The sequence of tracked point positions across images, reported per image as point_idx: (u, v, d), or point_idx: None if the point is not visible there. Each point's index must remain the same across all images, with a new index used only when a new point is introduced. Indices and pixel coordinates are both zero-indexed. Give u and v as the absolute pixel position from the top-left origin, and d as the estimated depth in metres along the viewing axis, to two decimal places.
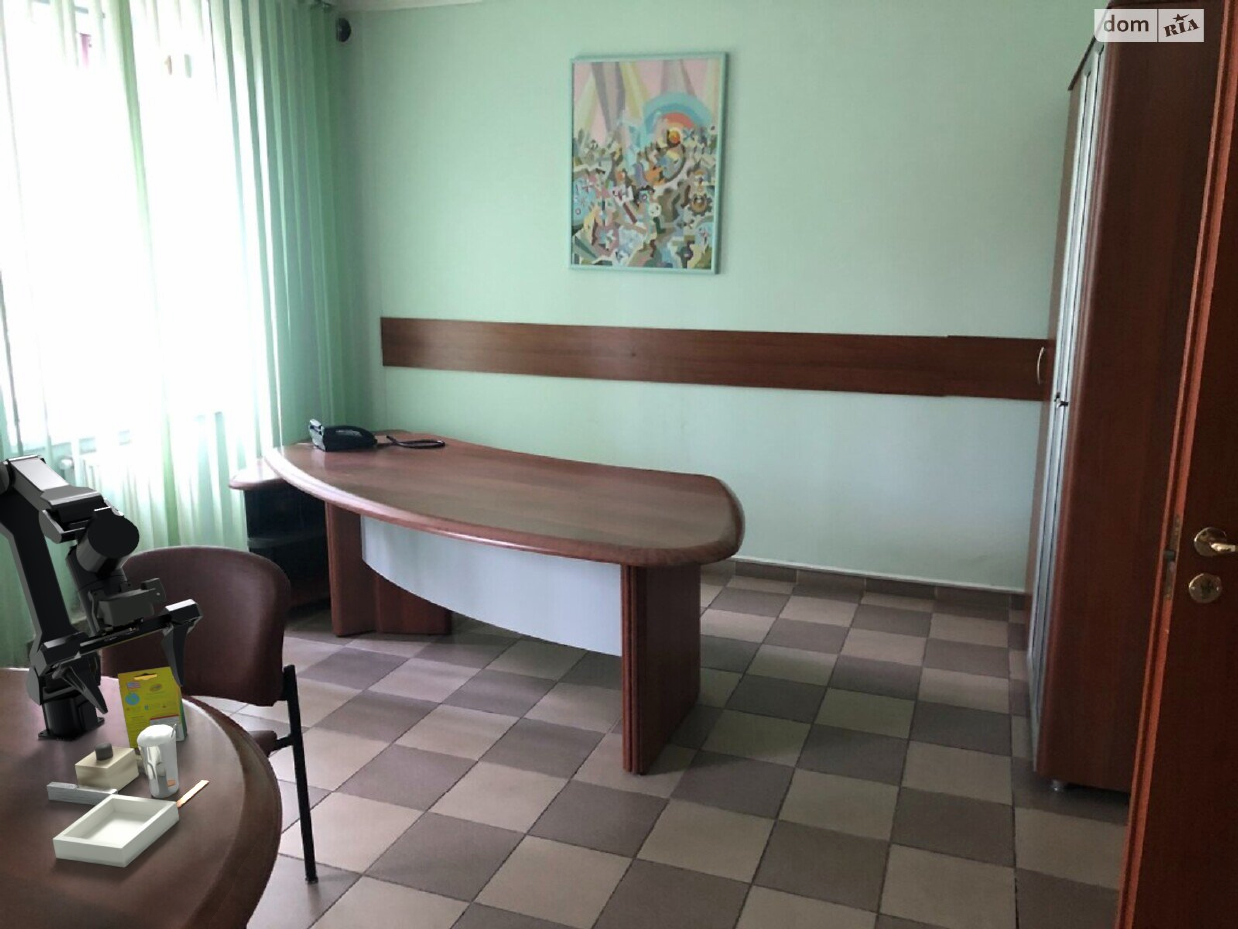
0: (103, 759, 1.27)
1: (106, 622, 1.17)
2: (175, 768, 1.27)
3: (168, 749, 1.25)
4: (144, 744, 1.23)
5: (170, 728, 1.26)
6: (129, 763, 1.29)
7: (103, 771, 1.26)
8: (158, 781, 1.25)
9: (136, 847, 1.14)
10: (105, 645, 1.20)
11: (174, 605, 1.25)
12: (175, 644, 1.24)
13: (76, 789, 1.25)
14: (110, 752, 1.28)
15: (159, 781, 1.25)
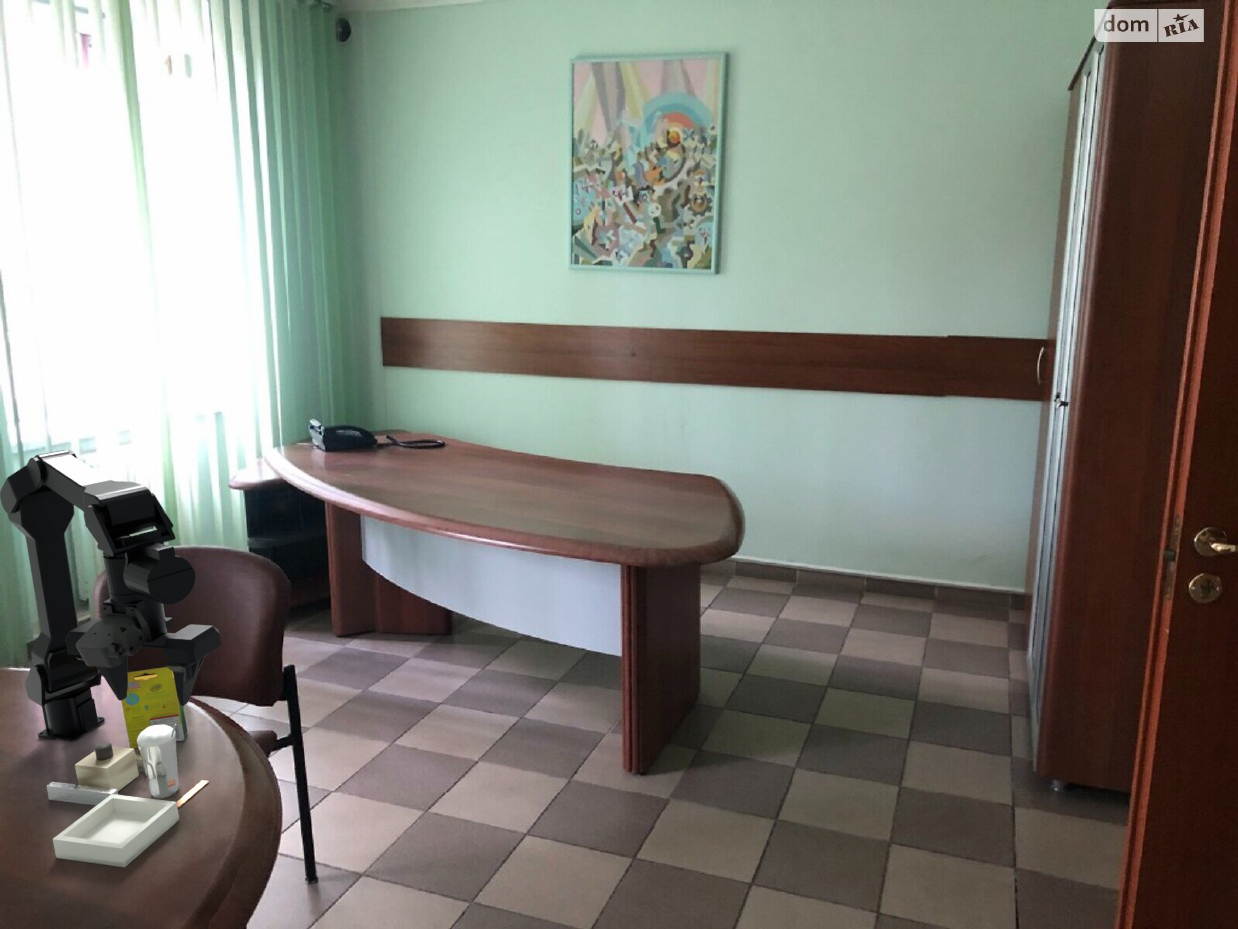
0: (103, 759, 1.27)
1: None
2: (175, 768, 1.27)
3: (168, 749, 1.25)
4: (144, 744, 1.23)
5: (170, 728, 1.26)
6: (129, 763, 1.29)
7: (103, 771, 1.26)
8: (158, 781, 1.25)
9: (136, 847, 1.14)
10: None
11: (172, 641, 1.18)
12: (174, 673, 1.21)
13: (76, 789, 1.25)
14: (110, 752, 1.28)
15: (159, 781, 1.25)
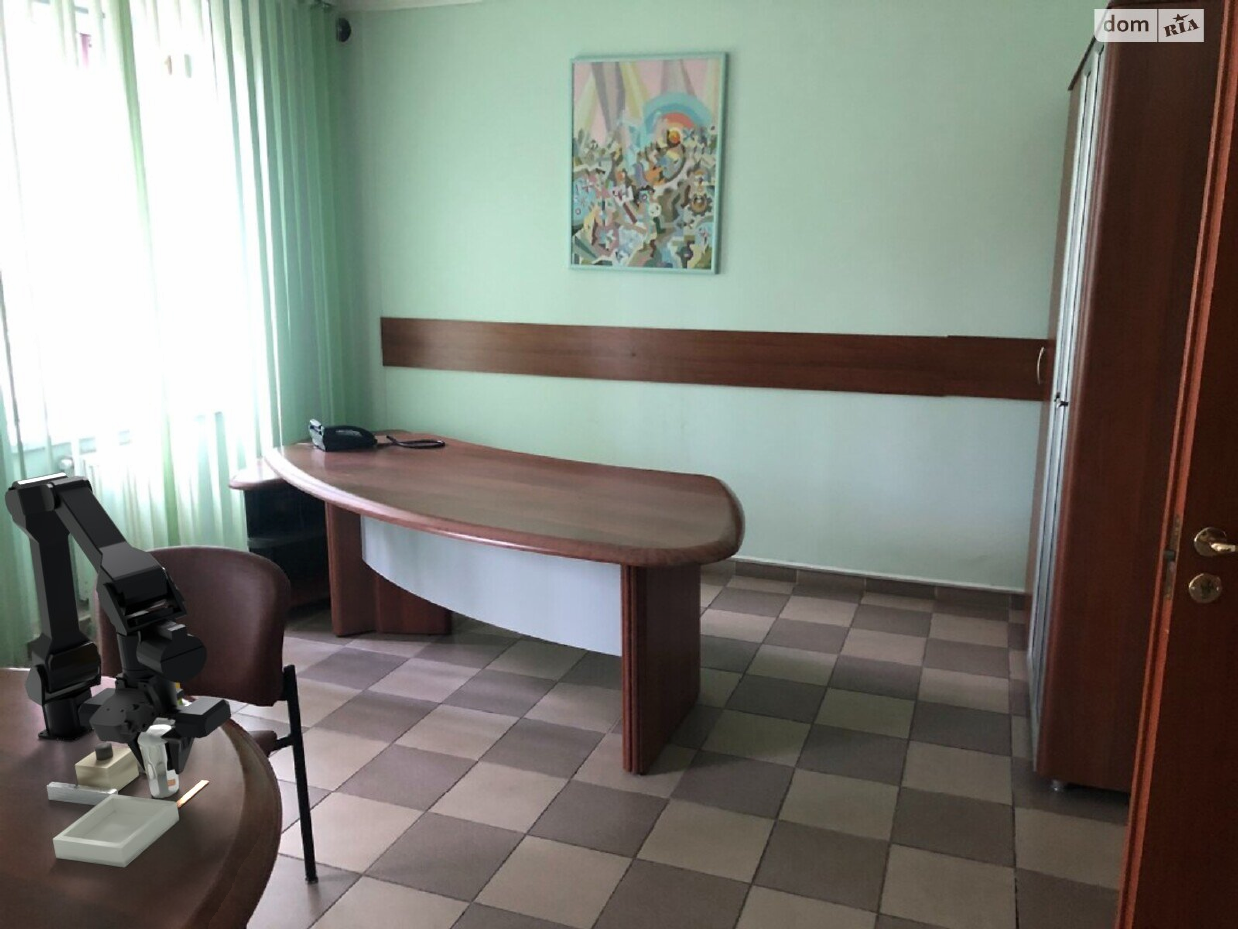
0: (103, 759, 1.27)
1: None
2: None
3: (169, 749, 1.25)
4: (145, 744, 1.23)
5: None
6: (129, 763, 1.29)
7: (103, 771, 1.26)
8: (158, 781, 1.25)
9: (136, 847, 1.14)
10: None
11: (184, 716, 1.21)
12: (170, 744, 1.23)
13: (76, 789, 1.25)
14: (110, 752, 1.28)
15: (160, 781, 1.25)
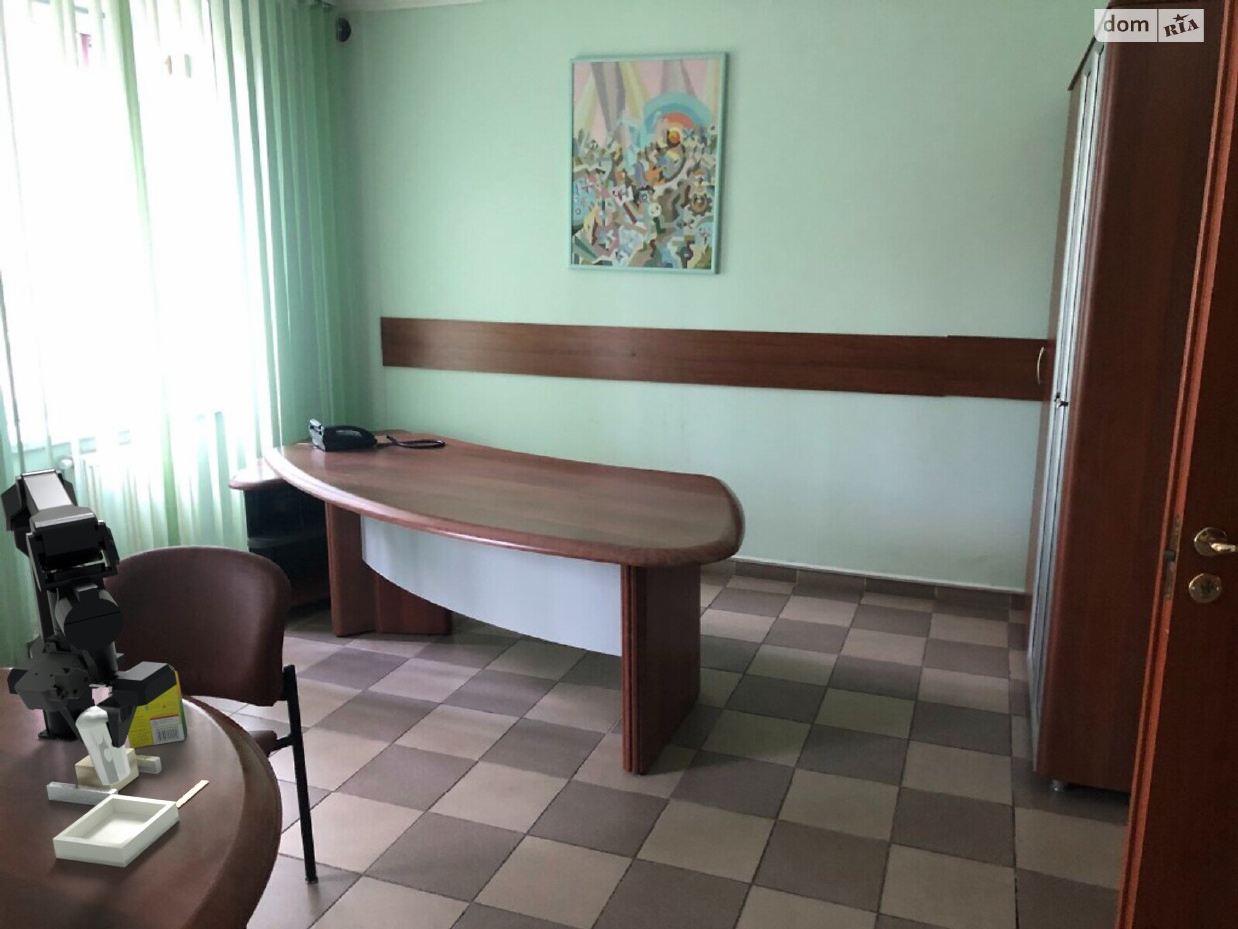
0: None
1: None
2: (123, 750, 1.15)
3: None
4: (83, 726, 1.12)
5: None
6: (129, 763, 1.29)
7: None
8: (104, 766, 1.14)
9: (136, 847, 1.14)
10: None
11: (122, 682, 1.09)
12: (108, 713, 1.12)
13: (76, 789, 1.25)
14: None
15: (106, 765, 1.14)
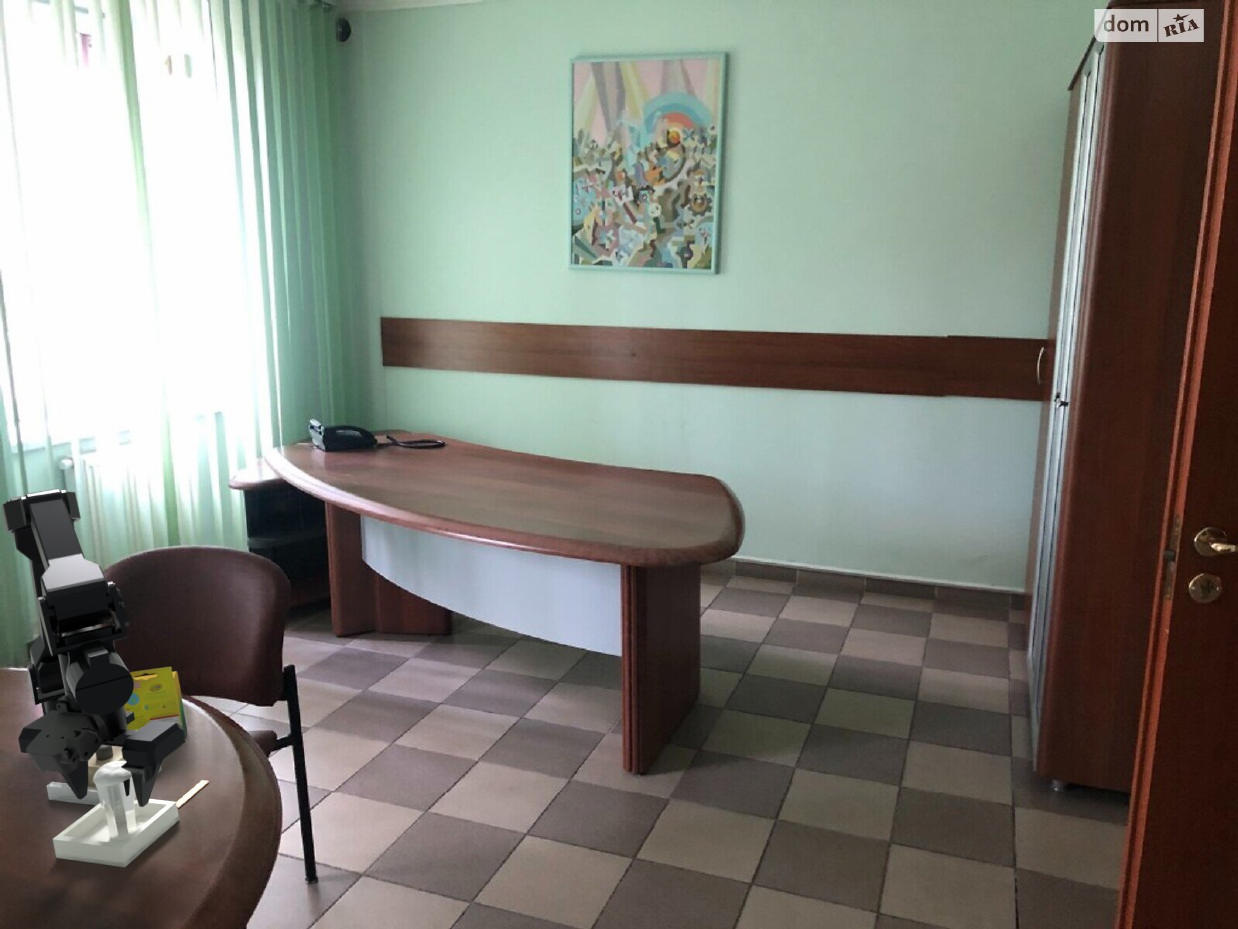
0: (103, 759, 1.27)
1: None
2: (135, 808, 1.17)
3: (127, 788, 1.15)
4: (100, 783, 1.14)
5: None
6: None
7: None
8: (116, 823, 1.15)
9: (136, 847, 1.14)
10: None
11: (131, 742, 1.10)
12: (132, 774, 1.13)
13: None
14: (110, 752, 1.28)
15: (118, 822, 1.15)
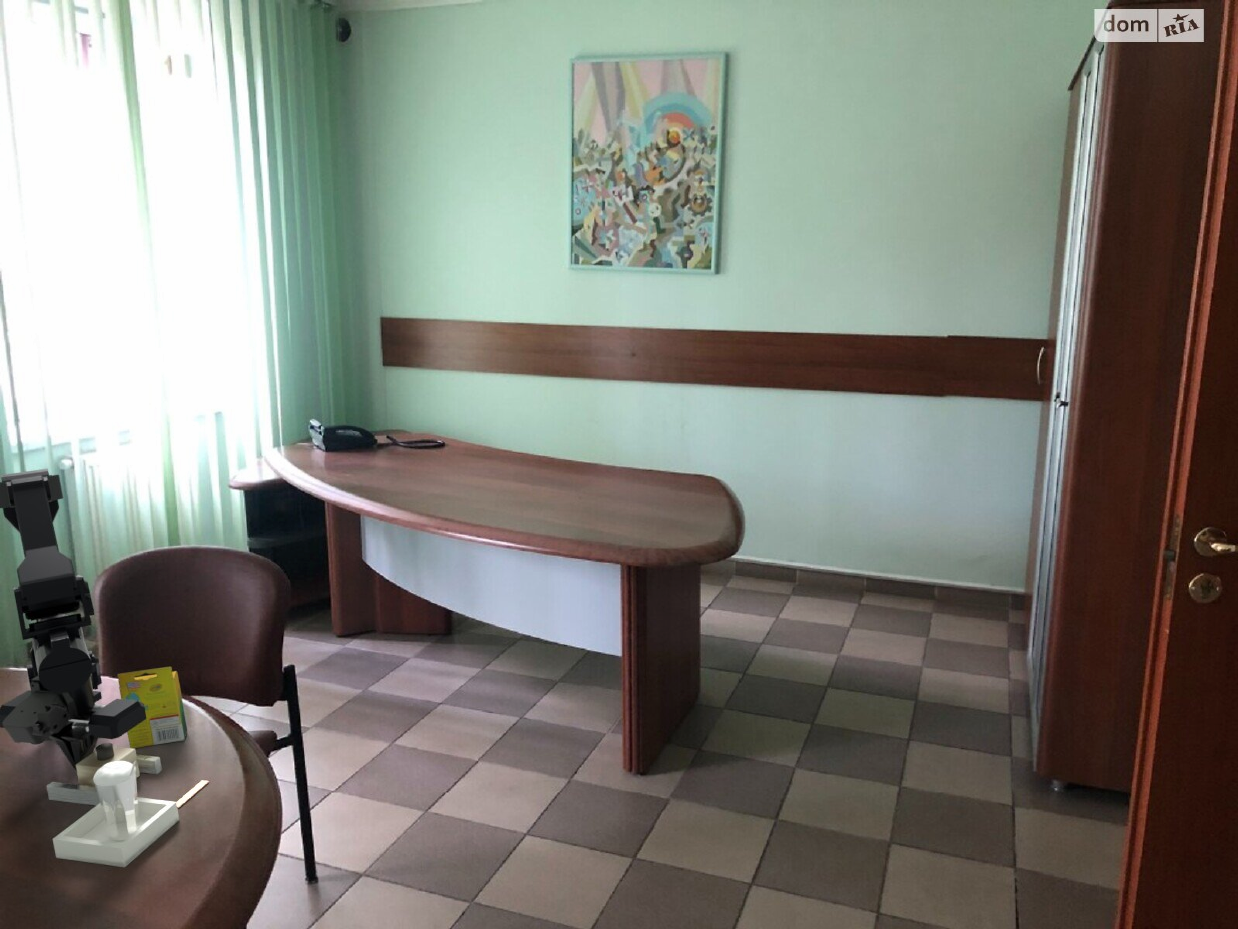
0: (104, 759, 1.27)
1: None
2: (135, 808, 1.17)
3: (127, 788, 1.15)
4: (101, 783, 1.14)
5: (130, 765, 1.16)
6: None
7: None
8: (116, 823, 1.15)
9: (136, 847, 1.14)
10: None
11: (97, 717, 1.24)
12: (72, 743, 1.27)
13: (76, 789, 1.25)
14: (111, 752, 1.28)
15: (118, 822, 1.15)
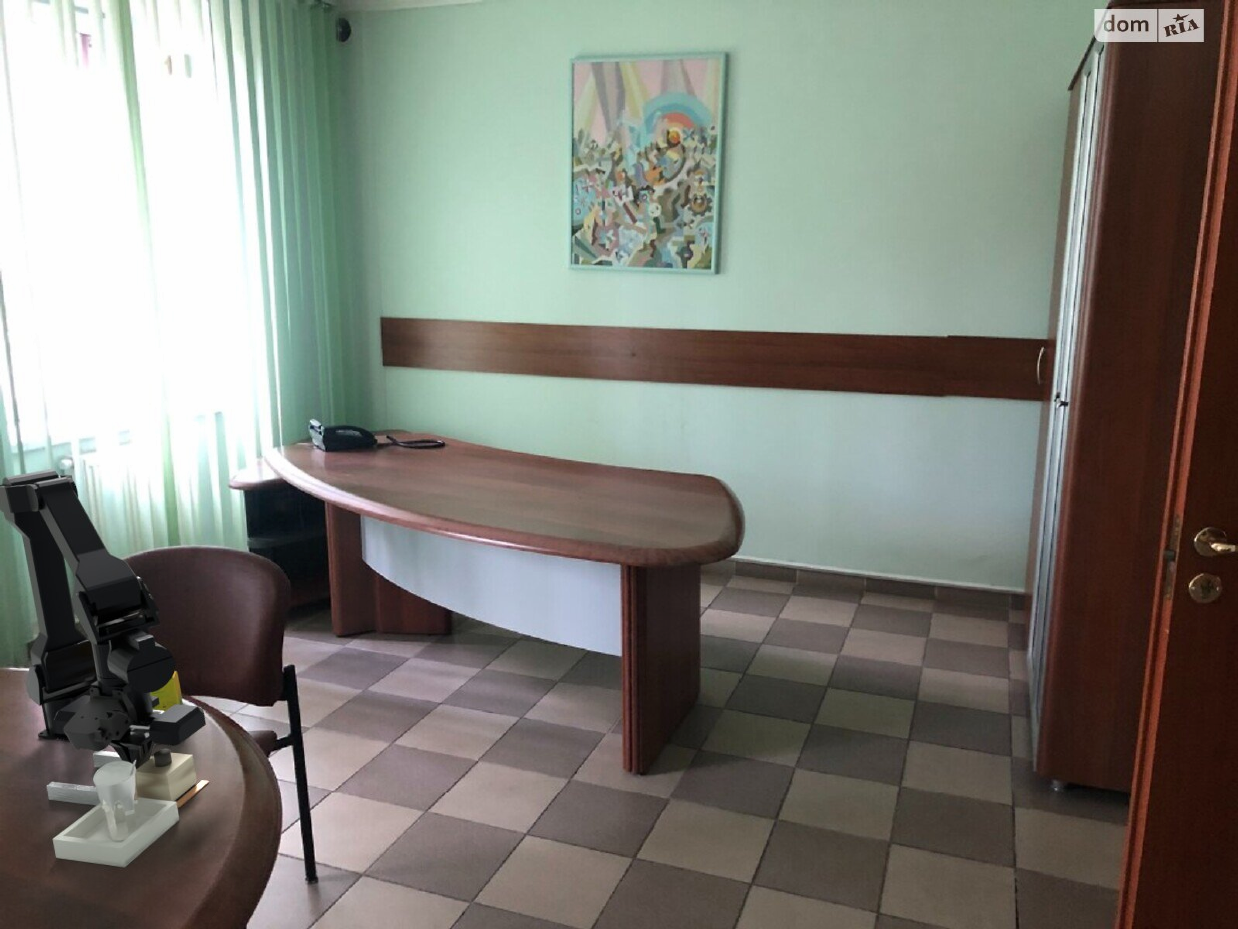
0: (162, 766, 1.25)
1: None
2: (135, 808, 1.17)
3: (127, 788, 1.15)
4: (101, 783, 1.14)
5: (130, 765, 1.16)
6: (188, 770, 1.27)
7: (163, 778, 1.24)
8: (116, 823, 1.15)
9: (136, 847, 1.14)
10: None
11: (158, 723, 1.22)
12: (130, 749, 1.25)
13: (76, 789, 1.25)
14: (169, 758, 1.26)
15: (118, 822, 1.15)
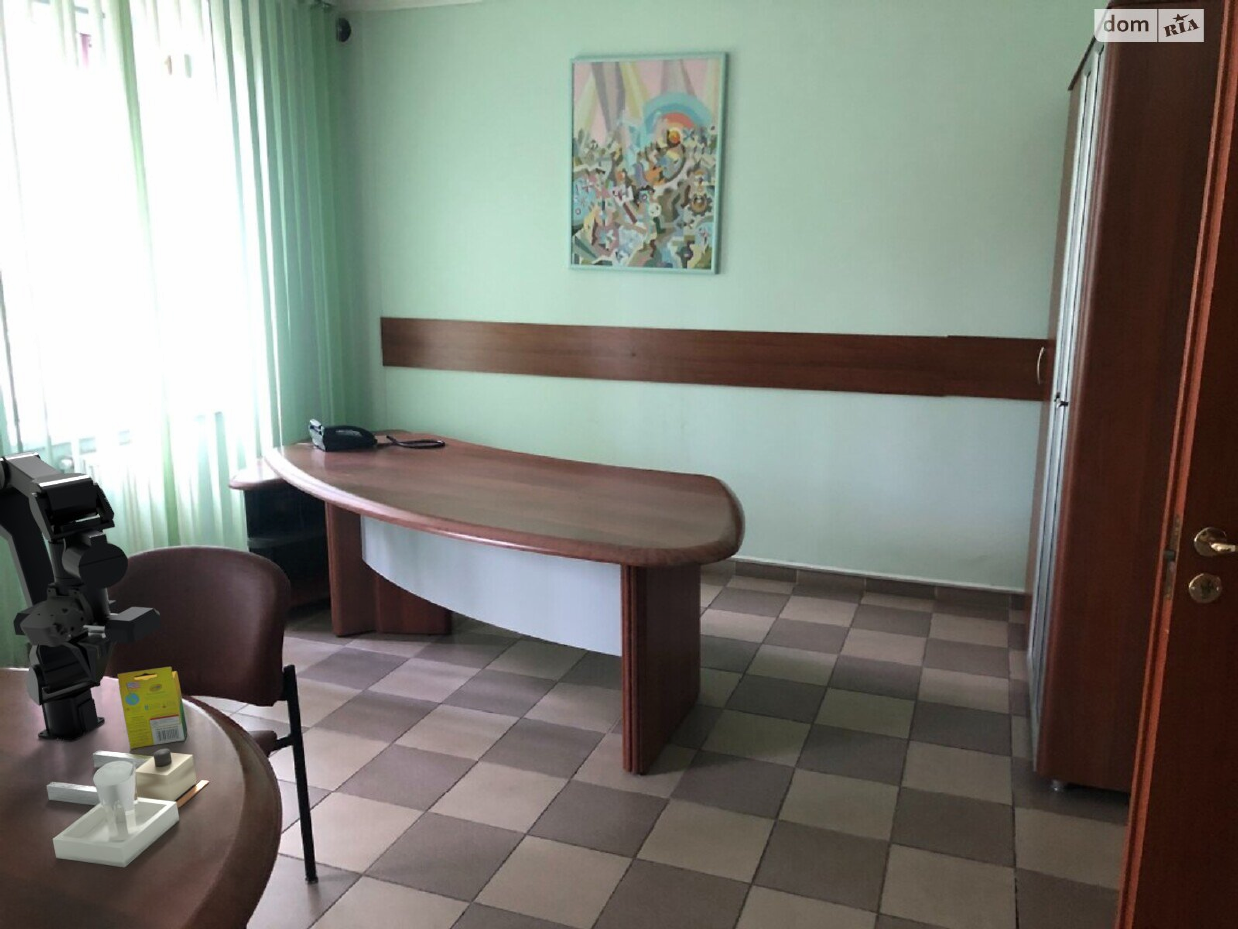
0: (162, 766, 1.25)
1: None
2: (135, 808, 1.17)
3: (127, 788, 1.15)
4: (100, 783, 1.14)
5: (130, 765, 1.16)
6: (188, 770, 1.27)
7: (162, 778, 1.24)
8: (116, 823, 1.15)
9: (136, 847, 1.14)
10: None
11: (113, 622, 1.25)
12: (87, 650, 1.28)
13: (76, 789, 1.25)
14: (169, 758, 1.26)
15: (118, 822, 1.15)
